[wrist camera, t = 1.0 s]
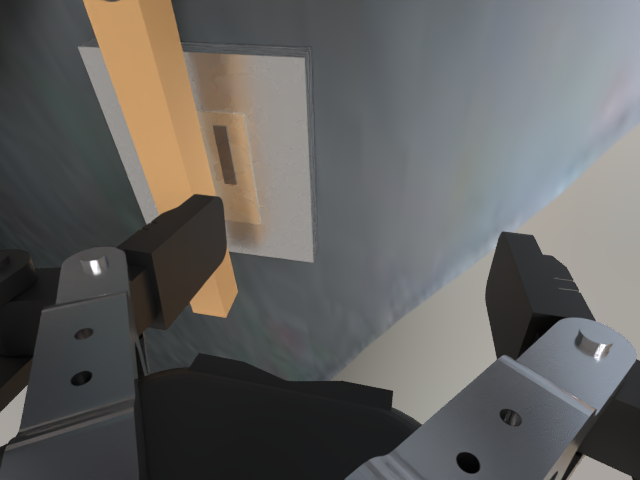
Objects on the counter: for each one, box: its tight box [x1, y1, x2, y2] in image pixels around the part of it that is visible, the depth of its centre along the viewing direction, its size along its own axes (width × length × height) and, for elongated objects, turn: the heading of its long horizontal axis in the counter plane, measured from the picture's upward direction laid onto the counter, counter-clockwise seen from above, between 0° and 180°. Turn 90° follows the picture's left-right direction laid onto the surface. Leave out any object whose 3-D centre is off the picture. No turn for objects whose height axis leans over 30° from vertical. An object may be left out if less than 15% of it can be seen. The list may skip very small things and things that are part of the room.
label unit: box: [78, 38, 318, 263], centre depth 34 cm, size 18×16×2 cm
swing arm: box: [83, 0, 238, 318], centre depth 28 cm, size 28×4×3 cm, turn 1°
